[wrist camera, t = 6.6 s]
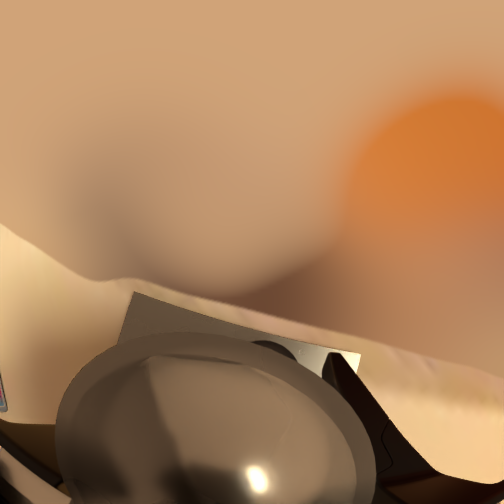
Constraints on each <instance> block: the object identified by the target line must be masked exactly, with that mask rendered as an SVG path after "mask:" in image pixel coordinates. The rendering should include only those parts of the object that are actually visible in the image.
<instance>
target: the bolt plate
mask: <svg viewBox="0 0 504 504" xmlns="http://www.w3.org/2000/svg"><path fill="white" fill-rule="evenodd" d="M169 332H199V333H207V334H216V335H223V336H227V337H232V338H236V339H240V340H245V341H248V342H251V343H254V344H257V345H260V346H263V347H266V348H269V349H272V350H274V351H276V352H278V353H280V354H282V355H284V356H286V357H288V358H290V359H293V360H295V361H296V362H298V363H300V364H301V365H303V366H304V367H306V368H308V369H309V370H311V371H312V372H314V373H316V374H317V375H318V376H319V377H321V376H322V368H323V365H324V362H325V360H326V357H327V355H328V353H329V352H339V353H341V354H342V356H343V357H344V358H345V360H346V361H347V362H348V363H349V365H350V366H351V367H352V369H353V370H354V371H355V373H356V372H357V368H358V364H359V360H360V356H361V354H356V353H351V352H346V351H341V350H336V349H332V348H327V347H322V346H318V345H313V344H309V343H305V342H300V341H296V340H292V339H288V338H284V337H280V336H276V335H272V334H268V333H264V332H261V331H257V330H253V329H249V328H246V327H242V326H239V325H235V324H232V323H228V322H225V321H222V320H218V319H215V318H212V317H208V316H205V315H202V314H199V313H196V312H193V311H189V310H186V309H183V308H180V307H177V306H174V305H171V304H168V303H165V302H163V301H160V300H157V299H154V298H151V297H148V296H146V295H143V294H140V293H137V292H135V291H134V294H133V296H132V299H131V302H130V305H129V308H128V311H127V314H126V317H125V321H124V324H123V327H122V330H121V333H120V337H119V340H118V343H117V345H118V344H121V343H123V342H126V341H128V340H131V339H135V338H139V337H143V336H147V335H152V334H161V333H169Z"/></svg>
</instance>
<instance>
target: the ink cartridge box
mask: <svg viewBox="0 0 504 504" xmlns="http://www.w3.org/2000/svg"><path fill="white" fill-rule="evenodd" d="M6 411H7V405H6V402H5V397H4V393H3V388H2V383H1V378H0V412H6Z"/></svg>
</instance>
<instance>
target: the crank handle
mask: <svg viewBox="0 0 504 504" xmlns="http://www.w3.org/2000/svg"><path fill="white" fill-rule="evenodd" d="M55 449H56V456H57V461H58V465H59V469H60V472H61V475H62V478H63V481H64V483H65V486H66V488H67V490H68V492H69V494H70V496H71V498H72V499H73V501H74V503H75V504H371V502H372V499H373V495H374V492H375V483H376V464H375V456H374V452H373V448H372V445H371V441H370V438H369V436H368V434H367V432H366V430H365V428H364V426H363V424H362V422H361V420H360V419H359V417H358V416H357V414H356V413H355V412H354V410H353V409H352V407H351V406H350V405H349V403H348V402H347V401H346V400H345V399H344V398H343V397H342V396H341V395H340V394H339V393H338V392H337V391H336V390H335V389H334V388H333V387H332V386H331V385H329V384H328V383H327V382H326V381H324V380H323V379H322V378H321V377H319V376H318V375H317V374H316V373H314V372H312V371H311V370H309V369H308V368H306V367H304V366H303V365H301V364H300V363H298V362H296V361H295V360H293V359H290V358H288V357H286V356H284V355H282V354H280V353H278V352H276V351H274V350H272V349H269V348H266V347H263V346H260V345H257V344H254V343H251V342H248V341H245V340H240V339H236V338H232V337H227V336H223V335H216V334H207V333H199V332H169V333H161V334H152V335H147V336H143V337H139V338H135V339H131V340H128V341H126V342H123V343H121V344H118V345H116V346H114V347H111V348H110V349H108V350H106V351H105V352H103V353H101V354H100V355H98V356H96V357H95V358H94V359H93V360H91V361H90V362H89V363H88V364H87V365H86V366H84V367H83V368H82V369H81V371H80V372H79V373H78V374H77V375H76V376H75V378H74V379H73V380H72V382H71V383H70V385H69V387H68V388H67V390H66V392H65V393H64V396H63V398H62V401H61V403H60V406H59V409H58V414H57V418H56V424H55Z"/></svg>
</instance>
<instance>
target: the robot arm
mask: <svg viewBox="0 0 504 504" xmlns="http://www.w3.org/2000/svg"><path fill="white" fill-rule="evenodd" d="M321 378H322V379H323V380H324V381H326V382H327V383H328V384H329V385H331V386H332V387H333V388H334V389H335V390H336V391H337V392H338V393H339V394H340V395H341V396H342V397H343V398H344V399H345V400H346V401H347V402H348V403H349V405H350V406H351V407H352V409H353V410H354V412H355V413H356V414H357V416H358V417H359V419H360V420H361V422H362V424H363V426H364V428H365V430H366V432H367V434H368V436H369V438H370V441H371V445H372V448H373V452H374V456H375V464H376V483H375V492H374V495H373V499H372V502H371V504H501V503H500V501H502V500H504V480H502V481H500V482H498V483H494V484H484V483H479V482H474V481H469V480H464V479H460V478H456V477H452V476H448V475H444V474H442V473H440V472H438V471H436V470H435V469H434V468H433V467H432V466H430V465H429V463H428V462H427V461H426V460H425V459H424V458H423V457H422V456H421V455H420V454H419V453H418V452H417V451H416V450H415V449H414V448H413V447H412V446H411V444H410V443H409V442H408V441H407V440H406V439H405V438H404V437H403V435H402V434H401V433H400V431H399V430H398V429H397V428H396V426H395V425H394V424H393V422H392V421H391V420H390V419H389V417H388V416H387V414H386V413H385V412H384V410H383V409H382V408H381V406H380V405H379V404H378V402H377V401H376V400H375V398H374V397H373V396H372V394H371V393H370V392H369V390H368V389H367V388H366V386H365V385H364V383H363V382H362V381H361V379H360V378H359V377H358V375H357V374H356V373H355V371H354V370H353V369H352V367H351V366H350V365H349V363H348V362H347V361H346V360H345V358H344V357H343V356H342V354H341V353H339V352H329V353H328V355H327V357H326V360H325V362H324V365H323V368H322V376H321ZM0 446H1V449H0V504H75V503H74V501H73V499H72V498H71V496H70V494H69V492H68V490H67V488H66V486H65V483H64V481H63V478H62V475H61V472H60V469H59V465H58V461H57V456H56V449H55V425H51V424H21V423H11V422H7V421H4V420H2V419H0Z"/></svg>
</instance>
